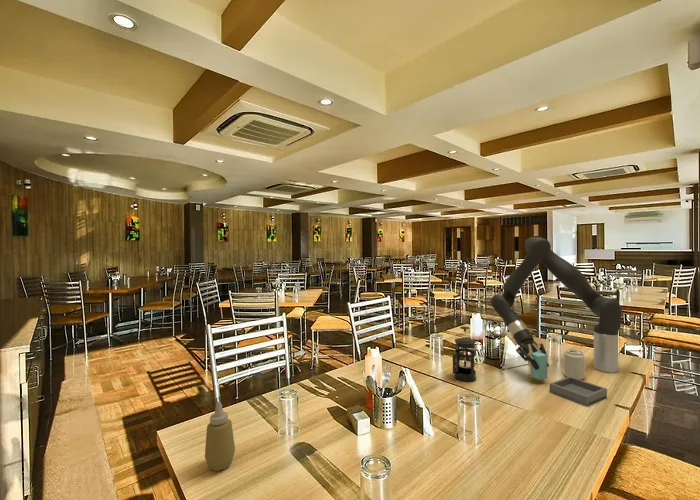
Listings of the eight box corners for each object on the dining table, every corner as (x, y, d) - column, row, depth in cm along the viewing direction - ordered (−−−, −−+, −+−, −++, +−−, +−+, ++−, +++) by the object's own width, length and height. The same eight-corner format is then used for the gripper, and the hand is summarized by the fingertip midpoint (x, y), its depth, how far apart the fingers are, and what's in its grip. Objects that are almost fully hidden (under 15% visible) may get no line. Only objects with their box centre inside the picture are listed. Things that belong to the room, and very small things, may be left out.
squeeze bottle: (210, 457, 101) (208, 396, 101) (238, 455, 102) (236, 395, 101) (200, 476, 93) (198, 410, 93) (231, 473, 94) (229, 408, 93)
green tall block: (538, 374, 152) (538, 351, 151) (547, 378, 148) (547, 355, 147) (530, 375, 150) (530, 353, 150) (539, 379, 146) (538, 356, 146)
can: (578, 374, 156) (578, 348, 156) (588, 381, 149) (588, 353, 149) (561, 373, 157) (561, 347, 157) (569, 380, 150) (570, 353, 149)
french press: (466, 372, 161) (466, 323, 160) (482, 379, 152) (482, 327, 152) (446, 376, 156) (446, 326, 155) (461, 384, 148) (461, 331, 147)
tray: (569, 384, 146) (569, 376, 146) (606, 397, 134) (607, 388, 134) (549, 391, 140) (549, 383, 139) (586, 406, 127) (587, 397, 127)
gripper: (511, 330, 153) (534, 366, 142) (537, 326, 158) (560, 361, 147) (503, 338, 158) (524, 374, 147) (527, 335, 163) (550, 369, 152)
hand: (542, 367), depth 147 cm, fingers closed on green tall block, 4 cm apart
